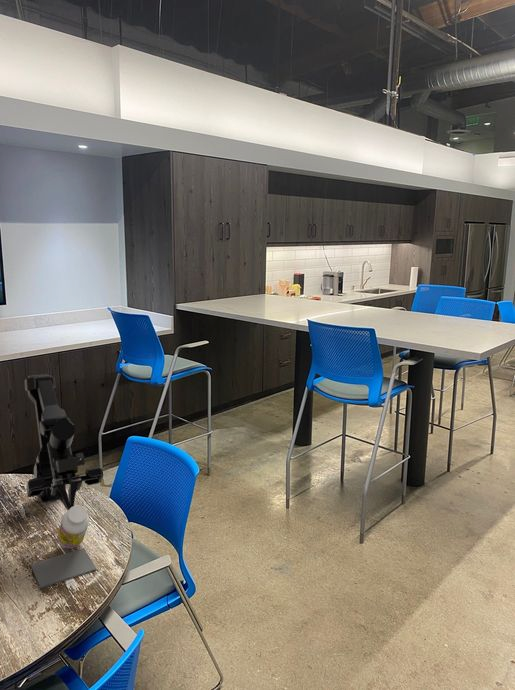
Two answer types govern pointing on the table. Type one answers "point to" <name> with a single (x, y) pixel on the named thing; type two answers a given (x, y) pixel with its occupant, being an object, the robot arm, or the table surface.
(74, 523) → the supplement bottle
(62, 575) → the mat
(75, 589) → the table surface
